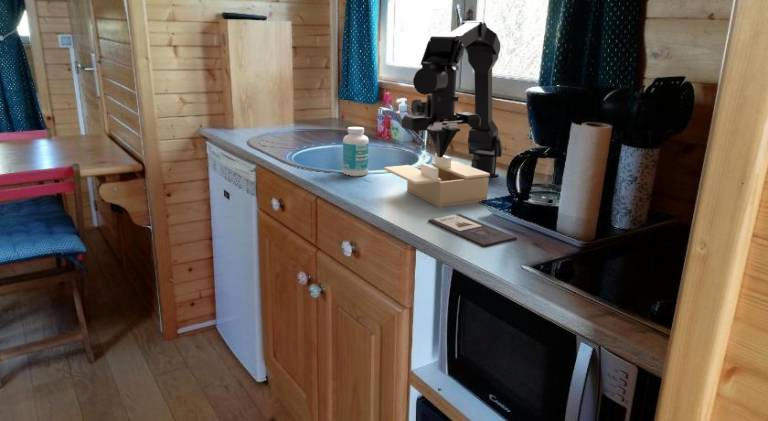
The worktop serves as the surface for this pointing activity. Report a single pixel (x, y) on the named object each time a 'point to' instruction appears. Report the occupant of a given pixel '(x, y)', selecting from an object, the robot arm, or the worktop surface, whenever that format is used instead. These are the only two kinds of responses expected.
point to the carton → (451, 189)
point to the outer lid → (416, 173)
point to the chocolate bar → (472, 230)
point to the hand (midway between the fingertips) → (440, 157)
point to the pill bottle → (355, 152)
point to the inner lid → (458, 168)
